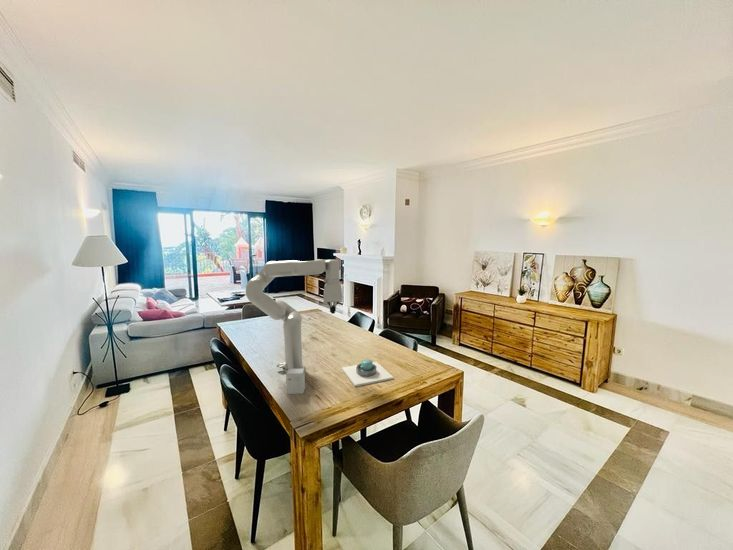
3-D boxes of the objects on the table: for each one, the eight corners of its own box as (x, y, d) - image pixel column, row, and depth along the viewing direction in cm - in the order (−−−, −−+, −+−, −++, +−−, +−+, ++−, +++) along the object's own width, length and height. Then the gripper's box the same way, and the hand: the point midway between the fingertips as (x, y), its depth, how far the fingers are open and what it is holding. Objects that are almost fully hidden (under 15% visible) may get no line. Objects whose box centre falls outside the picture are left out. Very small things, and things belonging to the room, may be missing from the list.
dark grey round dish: (360, 378, 157) (360, 372, 157) (353, 369, 167) (353, 364, 167) (379, 374, 162) (379, 369, 161) (371, 366, 171) (371, 361, 171)
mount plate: (354, 386, 150) (354, 384, 150) (341, 369, 170) (341, 367, 170) (393, 378, 159) (393, 377, 159) (376, 363, 179) (376, 361, 179)
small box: (305, 388, 149) (304, 368, 148) (303, 393, 143) (302, 373, 142) (289, 388, 149) (288, 368, 147) (286, 394, 143) (285, 373, 142)
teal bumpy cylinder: (362, 375, 160) (362, 364, 160) (358, 371, 166) (358, 360, 165) (375, 373, 163) (375, 362, 163) (370, 368, 169) (370, 358, 168)
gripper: (321, 282, 162) (321, 315, 165) (347, 281, 168) (347, 313, 170) (318, 281, 169) (318, 312, 171) (343, 279, 175) (343, 310, 177)
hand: (332, 312), depth 171 cm, fingers closed
